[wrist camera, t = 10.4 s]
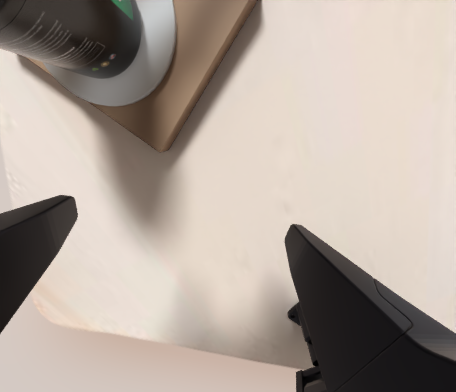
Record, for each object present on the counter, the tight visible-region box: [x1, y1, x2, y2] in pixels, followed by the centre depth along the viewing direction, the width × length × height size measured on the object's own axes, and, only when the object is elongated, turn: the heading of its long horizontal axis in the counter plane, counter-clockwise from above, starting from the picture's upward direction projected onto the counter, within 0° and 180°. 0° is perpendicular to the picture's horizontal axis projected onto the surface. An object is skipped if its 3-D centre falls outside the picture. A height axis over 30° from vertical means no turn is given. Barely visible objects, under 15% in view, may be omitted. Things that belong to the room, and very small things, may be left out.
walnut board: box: [26, 0, 258, 152], centre depth 15 cm, size 16×14×3 cm
